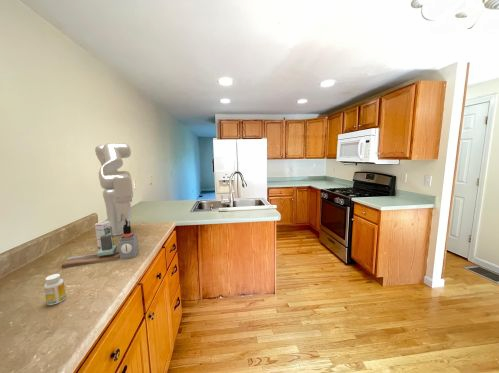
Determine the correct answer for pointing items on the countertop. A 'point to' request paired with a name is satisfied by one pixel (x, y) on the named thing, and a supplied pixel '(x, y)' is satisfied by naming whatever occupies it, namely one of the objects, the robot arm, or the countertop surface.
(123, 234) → the button
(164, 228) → the countertop surface
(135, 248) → the cabinet
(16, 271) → the countertop surface
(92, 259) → the rail bed
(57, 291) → the supplement bottle
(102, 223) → the syrup box
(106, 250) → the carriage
